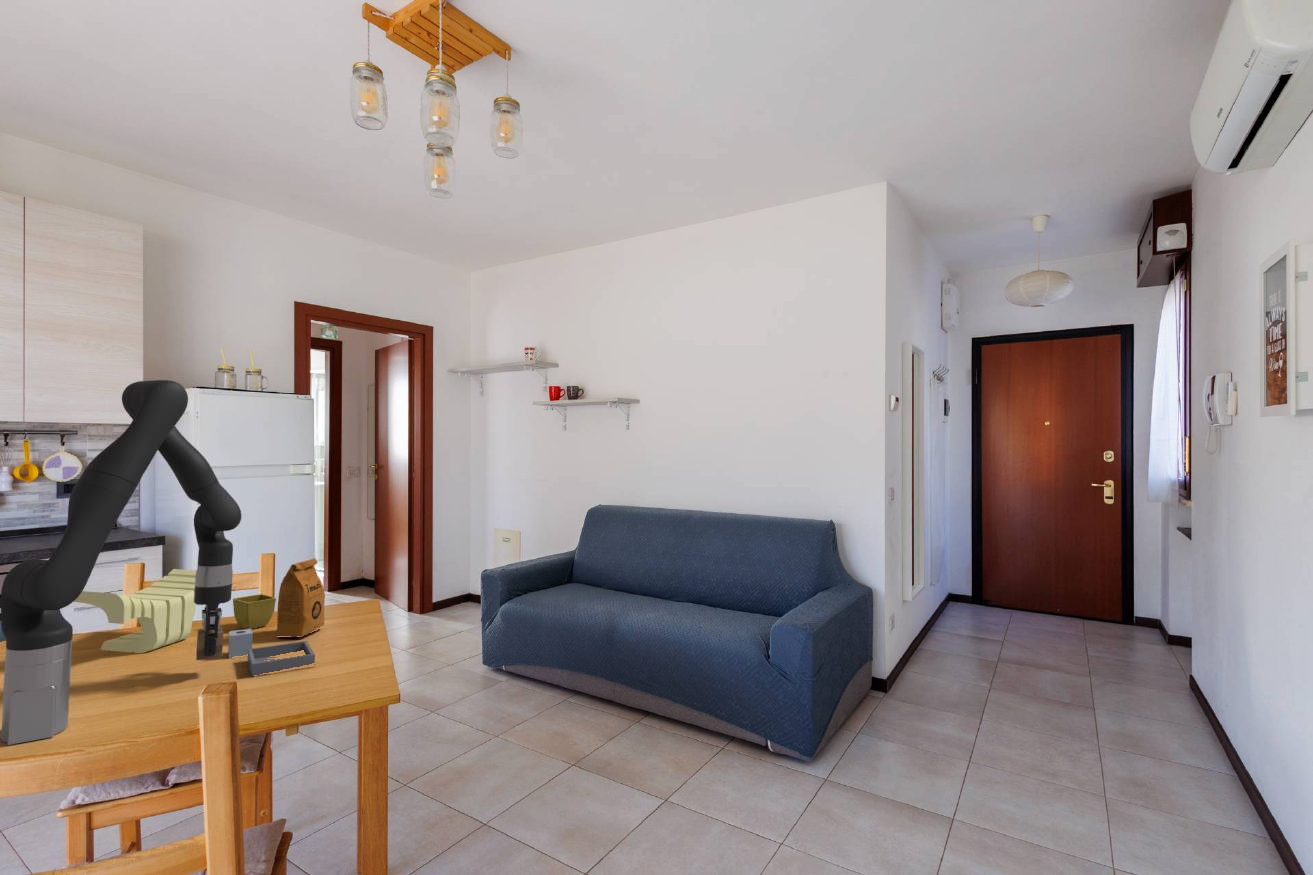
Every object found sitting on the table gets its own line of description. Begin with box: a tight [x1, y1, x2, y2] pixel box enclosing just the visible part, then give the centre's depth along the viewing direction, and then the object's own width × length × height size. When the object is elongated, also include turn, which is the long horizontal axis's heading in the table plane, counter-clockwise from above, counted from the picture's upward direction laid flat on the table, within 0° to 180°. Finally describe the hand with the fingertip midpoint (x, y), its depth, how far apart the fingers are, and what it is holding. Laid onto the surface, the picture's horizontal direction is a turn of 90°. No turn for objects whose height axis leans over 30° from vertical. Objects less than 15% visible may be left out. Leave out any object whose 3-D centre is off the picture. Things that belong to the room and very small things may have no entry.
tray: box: [246, 640, 316, 676], centre depth 162 cm, size 14×14×3 cm
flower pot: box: [232, 593, 277, 629], centre depth 193 cm, size 9×9×9 cm
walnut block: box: [195, 627, 224, 661], centre depth 154 cm, size 5×5×6 cm
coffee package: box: [276, 558, 326, 638], centre depth 188 cm, size 10×12×22 cm
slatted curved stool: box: [73, 568, 199, 654], centre depth 174 cm, size 30×16×18 cm, turn 173°
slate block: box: [227, 628, 254, 659], centre depth 169 cm, size 5×5×6 cm
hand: (209, 651), depth 154 cm, fingers closed on walnut block, 5 cm apart
